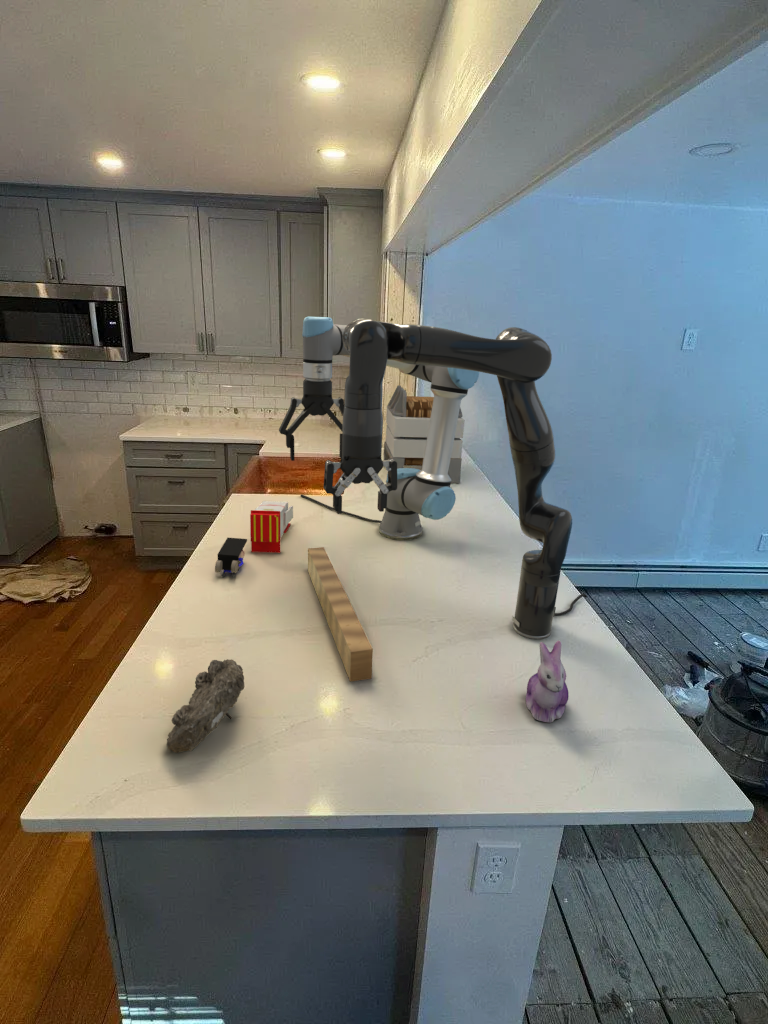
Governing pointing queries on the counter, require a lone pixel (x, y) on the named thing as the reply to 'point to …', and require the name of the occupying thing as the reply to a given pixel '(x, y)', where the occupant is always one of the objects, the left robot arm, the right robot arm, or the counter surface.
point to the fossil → (206, 705)
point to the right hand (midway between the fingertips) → (360, 511)
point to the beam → (340, 616)
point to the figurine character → (230, 556)
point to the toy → (269, 525)
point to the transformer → (416, 432)
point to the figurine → (548, 686)
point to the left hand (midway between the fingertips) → (317, 458)
